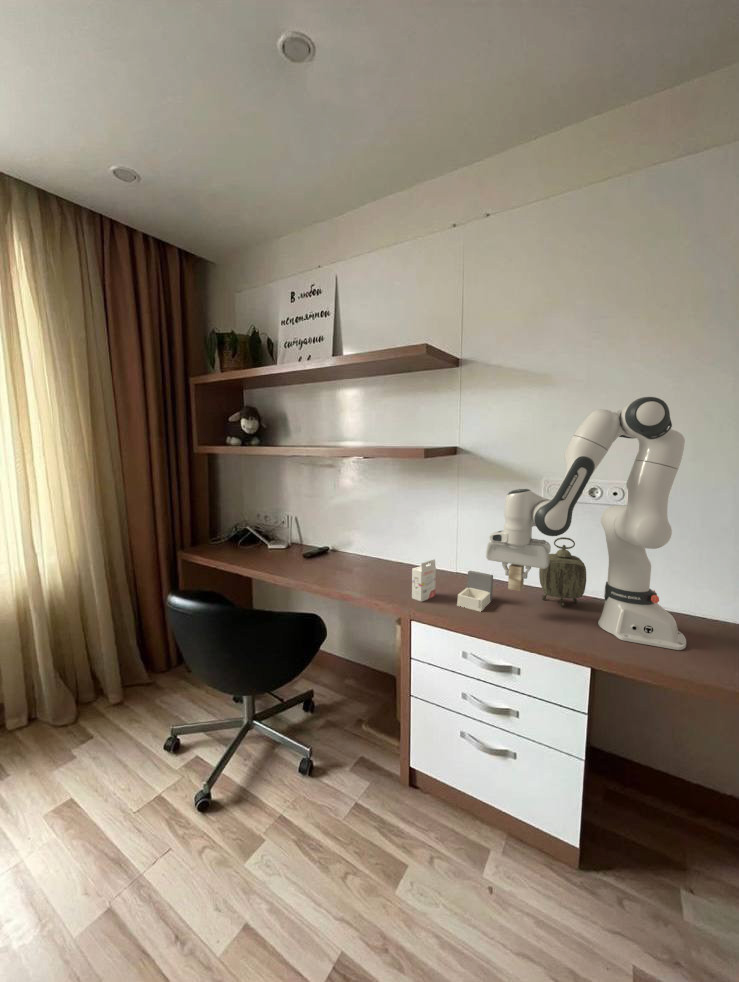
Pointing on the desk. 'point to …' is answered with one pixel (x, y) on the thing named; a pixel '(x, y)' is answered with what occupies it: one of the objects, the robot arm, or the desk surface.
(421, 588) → the ink cartridge box
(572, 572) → the tabletop clock
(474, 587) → the post socket
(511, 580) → the rail end bracket
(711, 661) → the desk surface
